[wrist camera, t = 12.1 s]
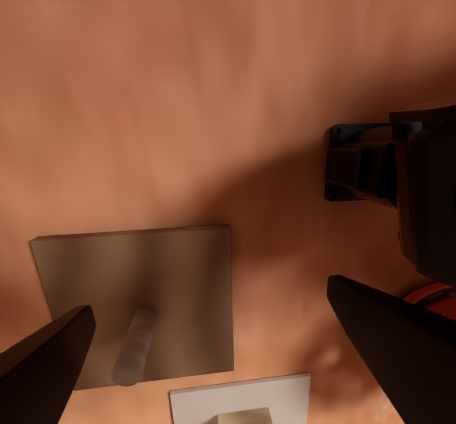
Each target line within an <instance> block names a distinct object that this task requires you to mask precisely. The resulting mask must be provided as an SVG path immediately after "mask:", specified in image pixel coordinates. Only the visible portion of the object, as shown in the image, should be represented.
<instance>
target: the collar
mask: <svg viewBox="0 0 456 424" xmlns="http://www.w3.org/2000/svg"><path fill="white" fill-rule="evenodd" d="M218 424H273V423H272V419H271V416H270V412H269V408H268V407H264V408H257V409H250V410H243V411H235V412H228V413H221V414H218Z"/></svg>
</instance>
